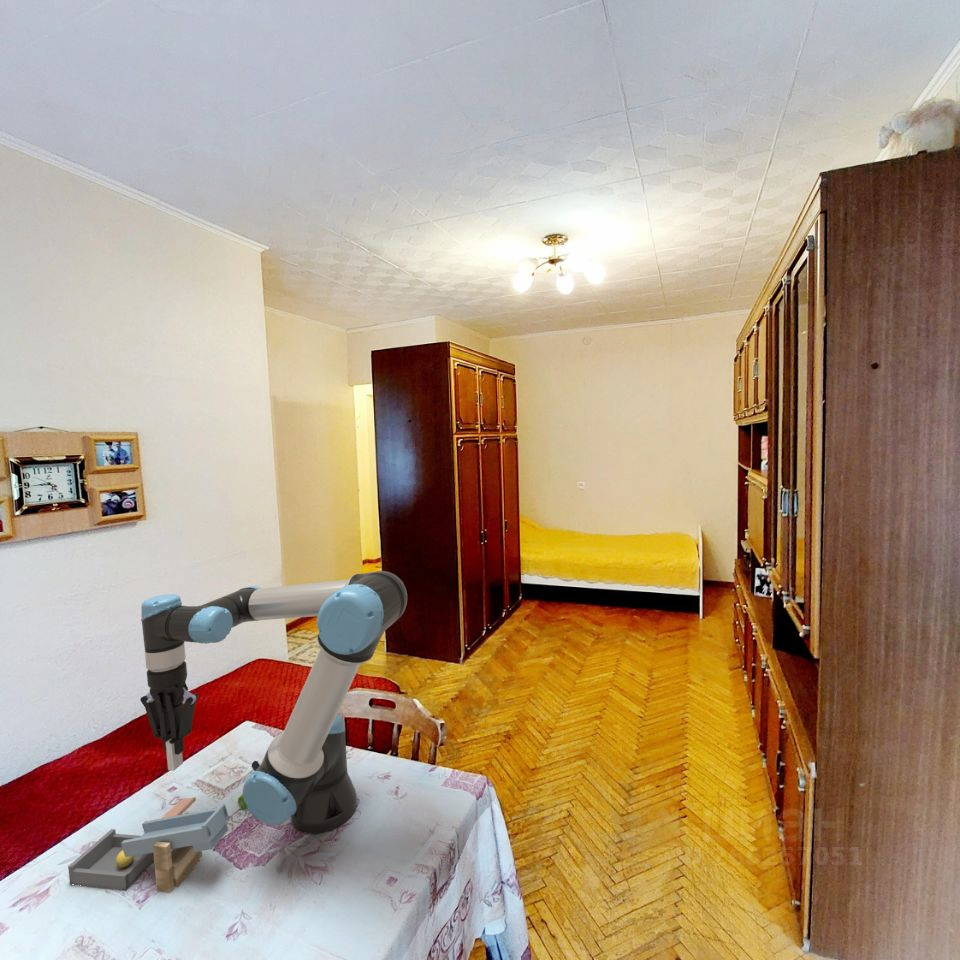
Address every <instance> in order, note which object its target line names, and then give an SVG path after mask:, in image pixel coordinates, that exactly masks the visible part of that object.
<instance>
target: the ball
mask: <svg viewBox="0 0 960 960" xmlns="http://www.w3.org/2000/svg"><path fill="white" fill-rule="evenodd" d="M133 859H134V856H129V857H125V855H124V852H123V850H122V851H121V852H120V853H119V854H118V856H117V858H116V864H117V866H118V867H121V868H122V867H126V866H128V865H129V864H130V863H131V862H132V861H133Z"/></svg>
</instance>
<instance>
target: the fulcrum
mask: <svg viewBox="0 0 960 960" xmlns="http://www.w3.org/2000/svg"><path fill="white" fill-rule="evenodd" d="M187 813H188V812H186V813H185V812H184V814H187ZM153 853H154V862H153V864H154V870H155V871H154V874H155V882H156V883H155V885H156V892H159V893H160V892H161V893H172V892H173V891H174V889H175V888H178V887H180V885H181V884H182V883H183V881H185V879H186V878H187V877H188V876H189V875H190V874H191V872H192V871H193V870H194V869H195V868H196V867H197V865H198V864H199V863H200V862H201V858H202V857H203V851H200V852H194V848H193V845H192V846H186V847H181V848H175V849H171V846H170V843H165V842H156V843H155V844H154V845H153Z"/></svg>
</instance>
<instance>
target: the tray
mask: <svg viewBox="0 0 960 960" xmlns="http://www.w3.org/2000/svg"><path fill="white" fill-rule="evenodd" d="M116 832H117V831H116V829H113V828H111V829H110V830H109V831H107V832H106V833H105V834H104V835H103V836H102V837H100V838H99V839H98V840H97V841H96V842H94V843H93V844H92V845H91V846H90V847H89V848H88V849H86V850H85V851H84V852H83V853H82V854H81V855H80V856H78V857H77V858H76V859H75V860H73V862H71V863H70V864H69V865H68V867H67V870H68V879H69V885H70V884H71V885H70V886H75V885H79V886H78V887H85V886H86V887H85V888H94V889H104V890H105V889H107V890H114V891H115V890H116V891H125V892H126V891H127V890H128V889H129V888H130V887H132V885H133V884H134V883H135V882H136V881H137V880H138V879H139V878H140V877H141V876H142V875H143V874H144V873H145V872H146V871H147V869H148V868H150V866H152V865H153V864H154V853H153V852H152V853H146V854H141V855H135V856H134V859H133V861H132V862H131V863H130V864H129V865H128V866H126V867H122V868H121V867H118V866H117V864H116V858H117V856H118V854H119V853H120V852H121V851H122V850H123V848H122V845H121V843H122V842H123V841H124V840H128V839H134V838H139V837H141V836H142V835H136V834H135V835H134V834H124V833H123V834H122V833H116ZM72 884H74V885H72ZM80 885H81V886H80Z"/></svg>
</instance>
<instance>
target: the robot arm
mask: <svg viewBox="0 0 960 960" xmlns="http://www.w3.org/2000/svg"><path fill="white" fill-rule="evenodd" d="M407 592H408V591H407V589H406V586H405V584H404V581H402V580H401V579H400V578H399V577H398V575H396V574H395V573H392V572H390V571H386V570H377V571H372V572H371V571H370V572H365V573H364V572H363V573H355V574H352V575H351V576H350V577H349V579H341V580H339V579H338V580H332V581H330V580H329V581H321V582H320V581H319V582H311V583H301V584H300V583H299V584H292V585H284V586H283V585H282V586H280V585H279V586H272V587H260V586H258V585H251V586H250V585H249V586H246V587H242V588H240V589H238V590H236V591H234V592H231V593H229V594H226V595H224V596H221V597H219V598H217V599H214V600H212V601H209V602H207V603H204V604H202V605H195V606H194V605H192V606H191V605H190V606H189V605H182V604H183V602H182V600H181V596H180V595H178V594H176V593H168V594H167V593H166V594H160V595H159V594H158V595H156V596H152V597H149V598H147V599H145V600H144V601H143V602H142V603H141V609H140V610H141V614H140V615H141V619H140V622H141V626H142V634H143V635H142V637H143V646H144V656H145V657H144V658H145V669H146V680H147V686H148V688H149V692H148V693H147V694H145V695H143V696H142V697H140V702H141V704H142V705H143V707H144V709H145V711H146V715H147V717H148V721H149V725H150V728H151V731H152V734H153V735H152V736H153V737H154V739H161V741H162V742H163V752H164V754H165V755H166V760H167V761H166V763H167V770H168V771H169V772H170V771H173V772H174V771H176V770H177V769H178V768H179V767H180V766H182V765H183V763H184V759H183V758H184V757H183V752H184V751H185V745H184V739H185V738H186V737H187V736H188V735H190V734H191V733H192V730H193V729H192V727H193V720H194V715H195V707H196V706H195V705H196V702H197V701H198V698H199V696H200V695H199V694H198V693H196V692H195V693H192V692H190V691H189V687H188V685H187V683H186V681H187V677H188V668H187V662H186V661H185V660H186V647H185V642H188V643H196V644H197V643H198V644H202V645H203V644H204V645H205V644H214V643H215V644H216V643H220V642H222V641H224V640H225V639H226V638H227V636H228V635H229V634H230V633H231V631H232V629H233V628H235V627H237V626H239V625H241V624H243V623H247V622H258V621H271V620H282V619H283V620H284V619H294V618H295V619H296V618H307V617H317V619H316V627H317V629H318V634H317V639H316V641H317V644H318V646H319V648H320V649H319V650H318V653H317V656H316V657H315V660H314V662H313V664H312V667H311V669H310V672H309V673H308V676H307V677H306V680H305V682H304V685H303V687H302V688H301V691H300V694H299V696H298V697H297V701H296V702H295V705H294V708H293V709H292V712H291V714H290V716H289V719H288V721H287V723H286V725H285V727H284V729H283V732H282V733H281V734H278V735H277V736H275V738H273V739H272V740H271V742H270V744H269V746H268V747H267V750H266V752H265V754H264V757H263V759H262V762H261V763H260V764H259V765H260V766H259V767H258V769H257V770H256V771H254V770H253V771H252V772H251V773H250V774H249V775H248V777H247V778H246V780H245V781H244V783H243V786H242V794H243V798H244V802H245V803H246V805H247V807H246V808H247V809H248V811H249V813H251V815H252V816H253V817H254V818H256V819H257V820H258V821H260V822H261V823H263V824H266V825H268V826H269V825H270V826H279V825H282V824H284V823H286V822H287V821H288V820H289V819H290V822H291V825H292V826H293V828H294V829H295V830H297V831H298V832H300V833H303V834H304V833H305V834H309V835H310V834H321V833H326V832H328V831H331V830H334V829H336V828H338V827H340V826H341V825H342V824H344V823H346V822H347V821H348V820H349V819H350V818H351V817H352V815H353V814H354V812H355V811H356V809H357V806H358V805H357V804H358V800H357V791H356V789H355V787H354V785H353V782H352V779H351V777H350V775H349V773H348V772H349V771H348V763H347V762H348V761H347V760H348V759H347V746H346V745H347V744H346V743H347V742H346V727H345V721H344V718H343V716H342V714H341V713H339V712H340V709H341V708H342V705H343V703H344V702H345V701H344V700H345V698H346V696H347V694H348V692H349V689H350V687H351V686H352V683H353V682H354V680H355V679H354V678H355V677H356V675H357V672H358V670H359V669H360V666H361V664H366V663H367V662H369V661H371V659H372V658H373V656H374V654H375V652H376V649H377V648H378V646H379V643H380V642H381V639H382V638H383V635H384V634H385V632H386V630H388V628H390V627H391V626H392V625H393V624H394V623H396V622H397V621H398V620H399V619H400V618H401V617H402V616H403V614H404V612H405V610H406V607H407V604H408V593H407Z"/></svg>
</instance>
